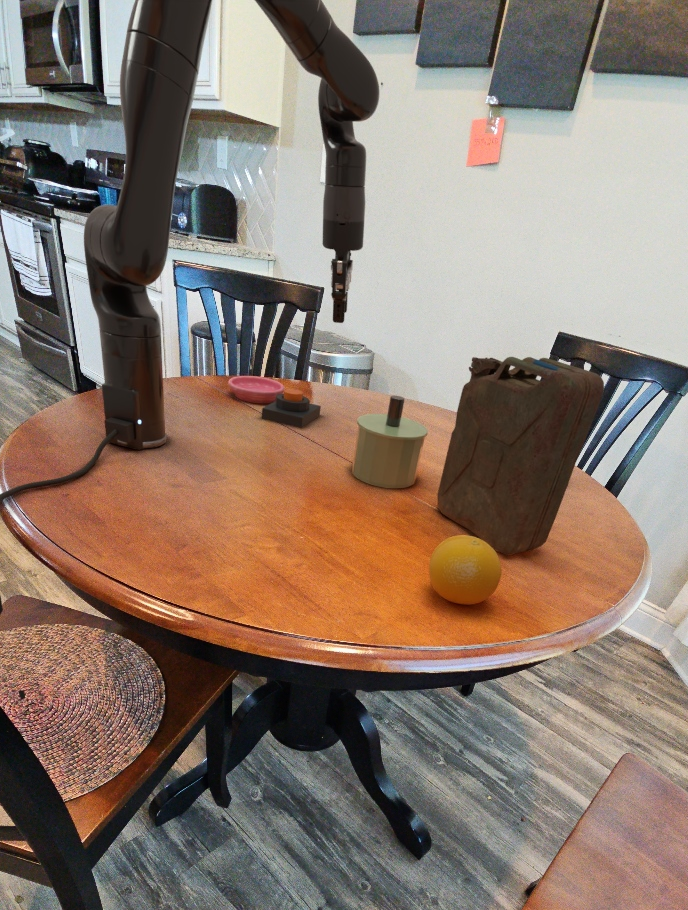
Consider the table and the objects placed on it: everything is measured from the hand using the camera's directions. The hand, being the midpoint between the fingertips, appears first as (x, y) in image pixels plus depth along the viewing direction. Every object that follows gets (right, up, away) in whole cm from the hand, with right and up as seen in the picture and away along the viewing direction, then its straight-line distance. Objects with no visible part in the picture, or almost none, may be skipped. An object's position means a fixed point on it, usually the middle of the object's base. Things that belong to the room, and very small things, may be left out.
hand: (339, 317), depth 116 cm
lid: (+9, -28, -16) cm, 33 cm away
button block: (-10, -16, +9) cm, 21 cm away
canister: (+23, -47, -24) cm, 57 cm away
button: (-10, -13, +7) cm, 18 cm away
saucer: (-19, -9, +18) cm, 28 cm away
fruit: (+15, -59, -42) cm, 74 cm away
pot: (+8, -34, -11) cm, 37 cm away
